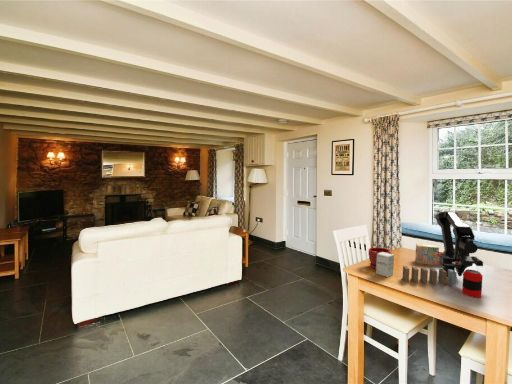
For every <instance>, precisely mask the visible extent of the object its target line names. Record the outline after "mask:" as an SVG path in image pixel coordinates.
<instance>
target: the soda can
mask: <svg viewBox="0 0 512 384" xmlns="http://www.w3.org/2000/svg"><path fill="white" fill-rule="evenodd" d="M482 289H483V274H482V273H481V272H480V271H478V270H476V269H465V270H464V272H463V274H462V288H461V292H462V294H463V295H465V296H467V297H470V298H476V299H477V298H478V299H479V298H481V297H482V291H483V290H482Z"/></svg>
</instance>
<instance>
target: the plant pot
mask: <svg viewBox="0 0 512 384" xmlns="http://www.w3.org/2000/svg"><path fill="white" fill-rule="evenodd" d="M381 252H385V253H389V254H391V253H392V251H391V249H388V248H385V247H370V248H368V259H369V262H370V263H369V265H370V267H371V268H373V269H374V270H376V263H377V254H378V253H381Z"/></svg>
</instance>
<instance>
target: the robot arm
mask: <svg viewBox="0 0 512 384" xmlns="http://www.w3.org/2000/svg"><path fill="white" fill-rule="evenodd" d="M435 220H436V223H437V225H438V226H439V227H440V228H441V235H442V243H443V248H444V249H443V250H444V252H443V254H442V256H440V257H439V261H440V264H441V265H442V269H444V270H445V271H446V272H447V278H448V269H450V270H453V271H455V272H456V273H457V276H456V279H457V278H458V277H462V276H463V272H464V271H465V270H467V268H469V267H473V264H474V265H475V266H476V267H484V261H483V260H482V259H479V258H478V257H477V256H470V254H475V253H476V252H477V251H478V248H479V247H478V246H477V244H476V243H474V241H475V240H476V239H475V237H476V236H475V233H474V232H473V229H472V228H471V226H470V225H468V224H466V223H464V222H463V221H462V220H461V219H460V217H458V215H457V214H456V211H454V210H445V211H443V212H438V213H436V215H435ZM451 226H452V228H451ZM452 232H453V235H454V239H455V240H454V239H453V235H452ZM453 240H454V241H453Z"/></svg>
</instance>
